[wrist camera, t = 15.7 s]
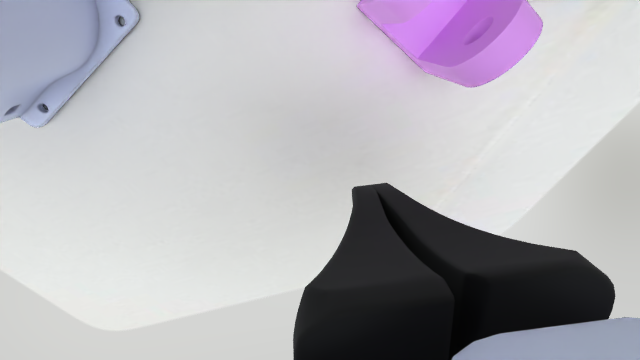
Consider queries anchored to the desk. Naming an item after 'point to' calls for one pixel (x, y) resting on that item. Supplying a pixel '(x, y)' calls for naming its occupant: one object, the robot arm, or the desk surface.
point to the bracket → (459, 34)
